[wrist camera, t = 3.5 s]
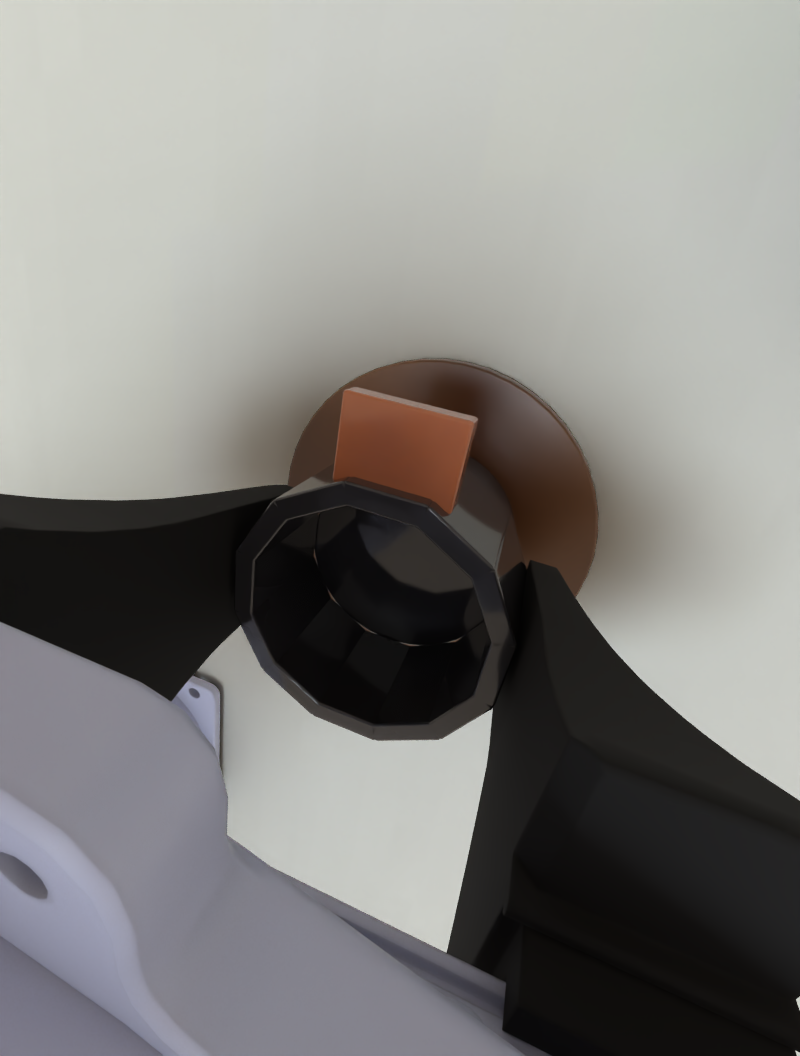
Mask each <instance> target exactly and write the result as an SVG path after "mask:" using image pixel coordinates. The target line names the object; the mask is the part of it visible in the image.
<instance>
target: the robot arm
mask: <svg viewBox="0 0 800 1056" xmlns="http://www.w3.org/2000/svg"><path fill="white" fill-rule="evenodd" d="M292 488H294V487H291V486H288V485H270V486H260V487H253V488H246V489H239V490H232V491H225V492H218V493H210V494H202V495H193V496H184V497H176V498H165V499H150V500H123V501H110V500H66V499H51V498H36V497H26V496H15V495H5V494H0V1056H797V1055H796V1052H795V1050H796V1051H798V1052H800V1010H799V1008H798V1005H797V1002H796V999H797V998H798V997H799V996H800V801H799V800H798V799H796V798H795V797H793V796H792V795H790V794H789V793H787V792H786V791H784V790H782V789H781V788H779V787H778V786H776V785H775V784H773V783H772V782H770V781H769V780H767V779H766V778H764V777H763V776H761V775H760V774H758V773H757V772H755V771H754V770H752V769H751V768H749V767H748V766H746V765H745V764H743V763H742V762H741V761H739V760H738V759H736V758H735V757H734V756H732V755H731V754H730V753H728V752H727V751H726V750H724V749H723V748H722V747H720V746H719V745H718V744H716V743H715V742H714V741H712V740H711V739H710V738H708V737H707V736H706V735H704V734H703V733H702V732H701V731H699V730H698V729H697V728H696V727H694V726H693V725H692V724H691V723H689V722H688V721H687V720H686V719H684V718H683V717H682V716H681V715H680V714H678V713H677V712H676V711H675V710H674V709H673V708H672V707H671V706H669V705H668V704H667V703H666V702H665V701H664V700H663V699H662V698H660V697H659V696H658V695H657V694H656V693H655V692H654V691H653V690H652V689H650V688H649V687H648V686H647V685H646V684H645V683H644V682H643V681H642V680H641V679H640V678H639V677H638V676H637V675H636V674H635V673H634V672H633V670H632V669H631V668H630V667H629V666H628V665H627V664H626V663H625V662H624V661H623V660H622V659H621V658H620V657H619V656H618V654H617V653H616V652H615V651H614V650H613V649H612V647H611V646H610V645H609V644H608V643H607V641H606V640H605V639H604V637H603V636H602V635H601V634H600V632H599V631H598V630H597V629H596V627H595V626H594V624H593V623H592V622H591V620H590V619H589V618H588V616H587V615H586V613H585V612H584V610H583V609H582V607H581V606H580V604H579V603H578V601H577V600H576V598H575V596H574V595H573V593H572V592H571V590H570V588H569V587H568V585H567V583H566V582H565V580H564V578H563V577H562V575H561V573H560V572H559V570H558V569H557V568H556V567H553V566H549V565H546V564H543V563H539V562H536V561H533V560H530V562H529V564H528V567H527V575H526V582H525V589H524V598H523V607H522V614H521V622H520V629H519V636H518V643H517V649H516V651H515V654H514V657H513V659H512V662H511V665H510V667H509V670H508V673H507V675H506V678H505V681H504V683H503V686H502V688H501V691H500V694H499V696H498V699H497V702H496V704H495V706H494V707H493V714H492V725H491V736H490V746H489V754H488V761H487V767H486V772H485V777H484V782H483V787H482V792H481V797H480V802H479V807H478V812H477V817H476V821H475V826H474V831H473V836H472V840H471V845H470V850H469V855H468V859H467V864H466V868H465V873H464V878H463V882H462V887H461V891H460V896H459V900H458V905H457V909H456V914H455V919H454V923H453V927H452V932H451V936H450V940H449V945H448V949H447V953H445V952H443V951H441V950H439V949H437V948H435V947H433V946H431V945H429V944H427V943H425V942H423V941H421V940H419V939H417V938H415V937H413V936H411V935H409V934H407V933H405V932H402V931H400V930H398V929H396V928H394V927H392V926H390V925H388V924H386V923H384V922H382V921H380V920H378V919H376V918H374V917H372V916H370V915H368V914H366V913H364V912H362V911H360V910H358V909H356V908H354V907H352V906H350V905H347V904H345V903H343V902H341V901H339V900H337V899H335V898H333V897H331V896H329V895H327V894H325V893H323V892H321V891H319V890H317V889H315V888H313V887H311V886H309V885H307V884H305V883H303V882H301V881H299V880H297V879H295V878H292V877H290V876H288V875H286V874H284V873H282V872H280V871H278V870H276V869H274V868H272V867H270V866H269V865H268V864H266V863H265V862H264V861H262V860H261V859H260V858H258V857H257V856H255V855H254V854H253V853H251V852H250V851H249V850H247V849H246V848H245V847H243V846H242V845H241V844H239V843H238V842H236V841H235V840H233V839H232V838H230V837H229V836H227V811H228V796H227V791H226V785H225V782H224V778H223V775H222V771H221V768H220V764H219V751H220V693H219V690H218V688H217V687H216V686H215V685H213V684H212V683H210V682H207V681H205V680H202V679H200V678H197V677H195V676H193V674H194V673H195V672H196V671H197V670H198V669H199V667H200V666H201V665H202V664H203V663H204V661H205V660H206V659H207V658H208V657H209V656H210V655H211V653H212V652H213V651H214V650H215V649H216V648H217V647H218V646H219V645H220V644H221V643H222V642H223V641H224V640H225V639H226V638H227V637H228V636H230V635H231V634H232V633H233V632H234V631H235V630H236V629H237V628H238V627H239V626H240V625H241V624H240V622H239V620H238V618H237V616H236V614H235V610H234V589H235V552H236V550H237V547H238V545H239V544H240V543H241V541H242V540H243V539H244V537H245V536H246V535H247V533H248V532H249V531H250V530H251V528H252V527H253V526H254V524H255V523H256V522H257V520H258V519H259V518H260V516H261V515H262V514H263V513H264V511H265V510H266V509H267V507H268V506H269V505H270V503H271V502H272V501H273V500H275V499H276V498H277V497H279V496H281V495H282V494H284V493H286V492H287V491H289V490H291V489H292Z"/></svg>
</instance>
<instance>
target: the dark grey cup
mask: <svg viewBox="0 0 800 1056" xmlns="http://www.w3.org/2000/svg"><path fill="white" fill-rule="evenodd" d="M477 423H478V418H476V417H475V416H471V415H467V414H463V413H459V412H455V411H451V410H447V409H443V408H439V407H435V406H431V405H427V404H423V403H419V402H415V401H411V400H407V399H403V398H399V397H395V396H391V395H387V394H383V393H379V392H375V391H371V390H367V389H363V388H359V387H353V388H350V389H346V390H344V392H343V399H342V407H341V415H340V423H339V431H338V439H337V447H336V455H335V463H334V464H332V465H330V466H329V467H327V468H325V469H324V470H322V471H320V472H319V473H317V474H315V475H314V476H312V477H310V478H309V479H307V480H306V481H304V482H302V483H301V484H299V485H297V486H296V487H294V488H292V489H291V490H289V491H287V492H286V493H284V494H282V495H281V496H279V497H277V498H276V499H275V500H273V501H272V502H271V503H270V505H269V506H268V507H267V509H266V510H265V511H264V513H263V514H262V515H261V516H260V518H259V519H258V520H257V522H256V523H255V524H254V526H253V527H252V528H251V530H250V531H249V532H248V533H247V535H246V536H245V537H244V539H243V540H242V541H241V543H240V544H239V545H238V547H237V550H236V552H235V589H234V610H235V614H236V616H237V618H238V620H239V622H240V624H241V626H242V628H243V630H244V633H245V635H246V637H247V639H248V641H249V643H250V645H251V647H252V649H253V651H254V653H255V655H256V657H257V659H258V661H259V663H260V666H261V667H262V668H263V670H264V671H265V672H266V673H267V674H268V675H269V676H270V677H271V678H272V679H274V680H275V681H276V682H277V683H278V684H279V685H280V686H281V687H282V688H283V689H284V690H286V691H287V692H288V693H289V694H290V695H291V696H292V697H293V698H294V699H295V700H296V701H298V702H299V703H300V704H301V705H302V706H303V707H304V708H305V709H306V710H307V711H308V712H310V713H311V714H313V715H314V716H316V717H318V718H321V719H323V720H326V721H328V722H331V723H333V724H336V725H338V726H340V727H343V728H345V729H348V730H350V731H353V732H355V733H358V734H360V735H362V736H365V737H367V738H370V739H372V740H377V741H387V740H439V739H442V738H444V737H446V736H447V735H449V734H451V733H452V732H454V731H456V730H457V729H459V728H461V727H462V726H464V725H466V724H467V723H469V722H471V721H472V720H474V719H476V718H477V717H479V716H481V715H482V714H484V713H486V712H487V711H489V710H491V709H492V708H493V707H494V706H495V704H496V702H497V699H498V696H499V694H500V691H501V688H502V686H503V683H504V681H505V678H506V675H507V673H508V670H509V667H510V665H511V662H512V659H513V657H514V654H515V651H516V649H517V643H518V636H519V629H520V622H521V614H522V607H523V598H524V589H525V582H526V575H527V569H526V565H525V561H524V557H523V554H522V550H521V546H520V543H519V539H518V535H517V531H516V528H515V521H514V516H513V511H512V508H511V505H510V502H509V499H508V497H507V496H506V494H505V492H504V490H503V488H502V487H501V485H500V484H499V482H498V481H497V479H496V478H495V477H494V476H493V475H492V474H491V473H490V472H489V470H488V469H486V468H485V467H484V466H483V465H482V464H481V463H479V462H478V461H476V460H475V459H473V458H472V457H470V456H469V454H470V450H471V447H472V443H473V439H474V435H475V431H476V427H477ZM318 513H319V515H318ZM314 550H315V558H316V560H315V558H314ZM328 591H329V592H328ZM329 593H330V594H331V596H332V597H333V599H334V600H335V601H336V602H337V603H336V602H335V601H334V600H333V599H332V598H331V596H330V594H329ZM362 626H363V627H364V628H366V629H367V630H369V631H371V632H369V631H367V630H365V629H364V628H363V627H362ZM372 632H373V633H372ZM458 639H459V640H458ZM455 640H458V641H456V642H452V641H455ZM403 643H404V644H403ZM405 644H409V645H418V646H408V645H405Z"/></svg>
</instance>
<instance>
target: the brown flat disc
mask: <svg viewBox="0 0 800 1056" xmlns="http://www.w3.org/2000/svg"><path fill="white" fill-rule="evenodd" d="M353 387H359V388H363V389H367V390H371V391H375V392H379V393H383V394H387V395H391V396H395V397H399V398H403V399H407V400H411V401H415V402H419V403H423V404H427V405H431V406H435V407H439V408H443V409H447V410H451V411H455V412H459V413H463V414H467V415H471V416H475V417H476V418H478V423H477V427H476V431H475V435H474V439H473V443H472V447H471V450H470V454H469V456H470V457H472V458H473V459H475V460H476V461H478V462H479V463H481V464H482V465H483V466H484V467H485V468H486V469H488V470H489V472H490V473H491V474H492V475H493V476H494V477H495V478H496V479H497V481H498V482H499V484H500V485H501V487H502V488H503V490H504V492H505V494H506V496H507V497H508V499H509V502H510V505H511V508H512V511H513V516H514V521H515V528H516V531H517V535H518V539H519V543H520V546H521V550H522V554H523V557H524V561H525V565H526V569H527V567H528V564H529V562H530V560H533V561H536V562H539V563H543V564H546V565H549V566H553V567H556V568H557V569H558V570H559V572H560V573H561V575H562V577H563V578H564V580H565V582H566V583H567V585H568V587H569V588H570V590H571V592H572V593H573V595H574V596H575V597H576V595H577V594H578V593H579V591H580V589H581V587H582V585H583V583H584V581H585V579H586V577H587V575H588V573H589V570H590V567H591V564H592V561H593V558H594V554H595V549H596V543H597V537H598V508H597V500H596V493H595V488H594V484H593V480H592V477H591V473H590V470H589V467H588V464H587V462H586V459H585V457H584V455H583V453H582V451H581V448H580V446H579V444H578V443H577V441H576V440H575V438H574V436H573V435H572V433H571V432H570V430H569V429H568V427H567V426H566V424H565V423H564V422H563V421H562V420H561V419H560V417H559V416H558V415H557V414H556V413H555V412H554V411H553V409H552V408H551V407H550V406H549V405H547V404H546V403H545V402H544V401H543V400H542V399H540V398H539V397H538V396H537V395H536V394H535V393H534V392H532V391H531V390H529V389H528V388H526V387H525V386H523V385H521V384H520V383H518V382H517V381H515V380H514V379H512V378H510V377H508V376H505V375H503V374H501V373H499V372H497V371H495V370H492V369H490V368H486V367H483V366H480V365H476V364H473V363H470V362H464V361H458V360H451V359H417V360H409V361H402V362H398V363H394V364H391V365H387V366H384V367H380V368H377V369H374V370H372V371H370V372H368V373H365V374H363V375H361V376H359V377H357V378H355V379H354V380H352V381H351V382H349V383H347V384H346V385H344V386H343V387H341V388H340V389H339V390H338V391H336V392H335V393H334V394H333V395H332V396H331V397H330V398H328V399H327V400H326V401H325V402H324V403H323V405H322V406H321V407H320V408H319V409H318V411H317V412H316V413H315V414H314V415H313V417H312V418H311V420H310V421H309V423H308V425H307V426H306V428H305V429H304V431H303V433H302V435H301V438H300V440H299V442H298V444H297V447H296V449H295V453H294V456H293V460H292V463H291V467H290V473H289V480H288V486H291V487H296V486H297V485H299V484H301V483H302V482H304V481H306V480H307V479H309V478H310V477H312V476H314V475H315V474H317V473H319V472H320V471H322V470H324V469H325V468H327V467H329V466H330V465H332V464H334V463H335V455H336V447H337V439H338V431H339V423H340V415H341V407H342V399H343V392H344V390H346V389H350V388H353ZM318 515H319V513H318ZM314 558H315V550H314ZM315 560H316V558H315ZM328 592H329V591H328ZM329 594H330V593H329ZM330 596H331V594H330ZM331 598H332V599H333V597H332V596H331ZM333 600H334V599H333ZM334 601H335V600H334ZM335 602H336V601H335ZM336 603H337V602H336ZM362 627H363V626H362ZM363 628H364V627H363ZM364 629H365V630H367V629H366V628H364ZM367 631H369V630H367ZM369 632H371V631H369ZM372 633H373V632H372ZM458 640H459V639H458ZM458 640H455V641H452V642H456V641H458ZM403 644H404V643H403ZM405 645H408V646H418V645H409V644H405Z"/></svg>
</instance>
